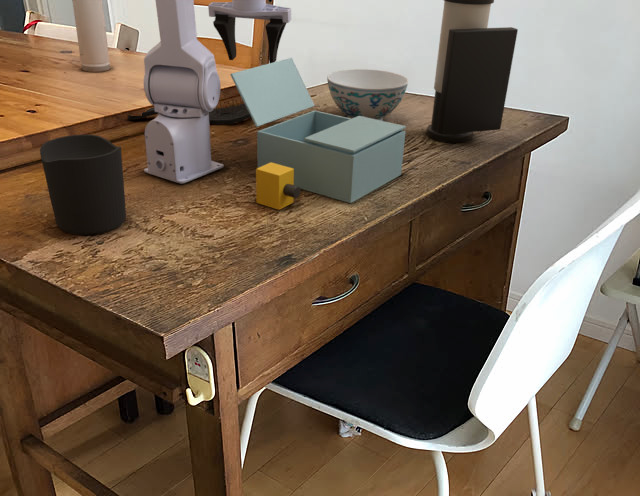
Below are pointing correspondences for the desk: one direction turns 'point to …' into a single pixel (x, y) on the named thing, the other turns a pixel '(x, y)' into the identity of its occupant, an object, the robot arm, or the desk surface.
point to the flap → (272, 91)
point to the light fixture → (470, 72)
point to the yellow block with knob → (275, 186)
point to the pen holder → (85, 183)
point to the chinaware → (366, 92)
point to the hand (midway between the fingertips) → (252, 60)
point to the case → (335, 153)
